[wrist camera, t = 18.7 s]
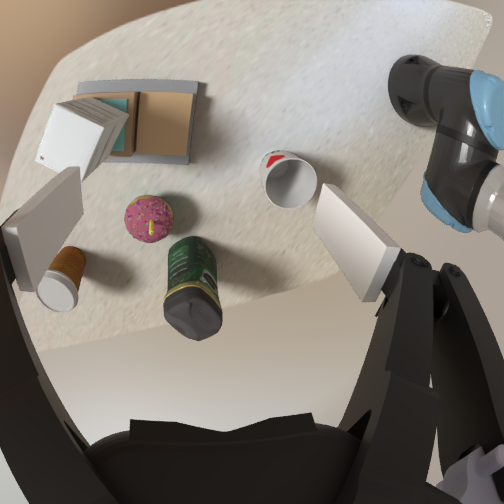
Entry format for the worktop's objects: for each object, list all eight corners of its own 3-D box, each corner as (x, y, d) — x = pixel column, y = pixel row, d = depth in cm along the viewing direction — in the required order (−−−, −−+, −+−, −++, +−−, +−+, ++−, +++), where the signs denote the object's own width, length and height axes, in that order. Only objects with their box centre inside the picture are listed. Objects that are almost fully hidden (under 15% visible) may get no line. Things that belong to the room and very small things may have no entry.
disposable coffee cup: (76, 283, 56) (60, 322, 46) (46, 255, 51) (24, 291, 41) (101, 262, 54) (85, 301, 44) (69, 230, 49) (46, 265, 39)
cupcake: (152, 176, 47) (140, 204, 37) (185, 209, 52) (182, 244, 42) (120, 207, 49) (103, 241, 39) (152, 237, 54) (144, 275, 44)
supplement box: (109, 157, 38) (80, 186, 28) (71, 138, 35) (31, 161, 25) (131, 114, 36) (106, 127, 25) (91, 94, 33) (53, 102, 22)
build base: (198, 81, 40) (198, 81, 35) (188, 162, 47) (187, 172, 42) (81, 82, 35) (67, 83, 30) (79, 160, 43) (66, 170, 38)
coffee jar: (161, 249, 55) (152, 317, 40) (195, 228, 54) (196, 294, 39) (190, 281, 61) (191, 351, 45) (221, 263, 60) (232, 332, 44)
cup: (297, 141, 48) (318, 156, 40) (296, 184, 53) (316, 206, 44) (251, 144, 47) (263, 160, 39) (253, 188, 52) (265, 212, 44)
